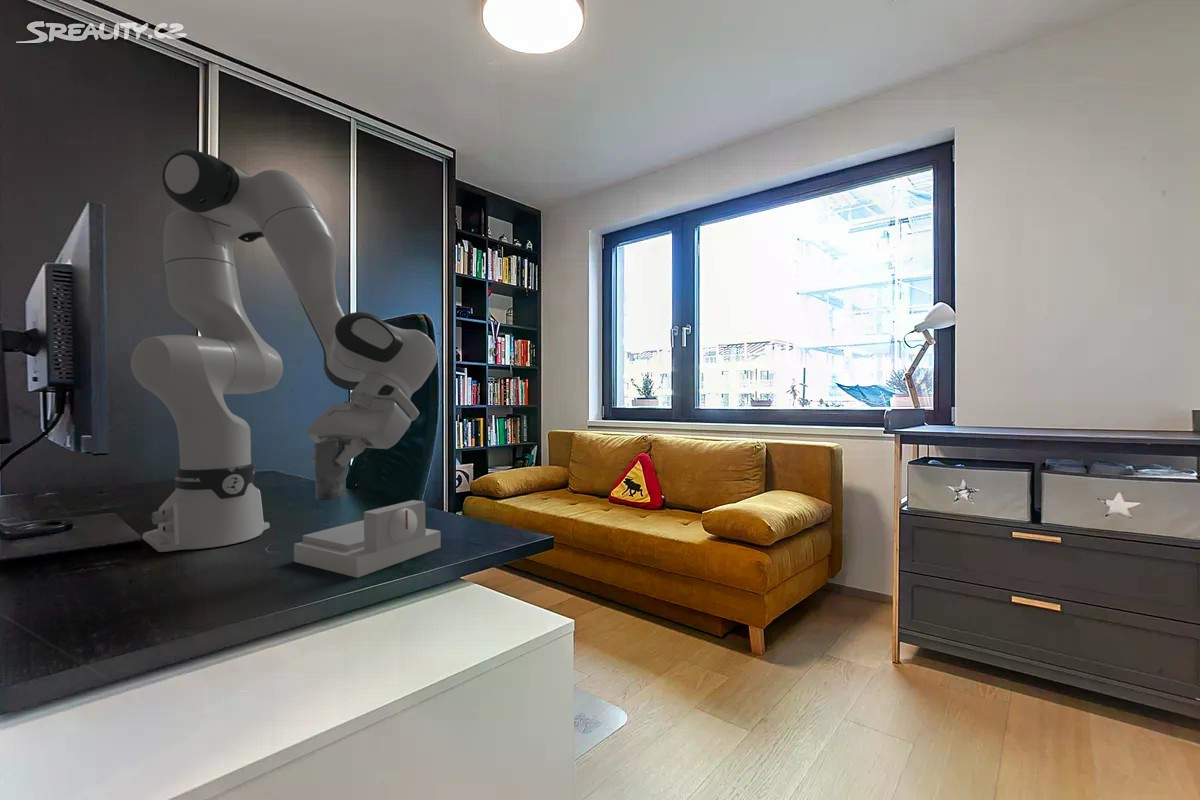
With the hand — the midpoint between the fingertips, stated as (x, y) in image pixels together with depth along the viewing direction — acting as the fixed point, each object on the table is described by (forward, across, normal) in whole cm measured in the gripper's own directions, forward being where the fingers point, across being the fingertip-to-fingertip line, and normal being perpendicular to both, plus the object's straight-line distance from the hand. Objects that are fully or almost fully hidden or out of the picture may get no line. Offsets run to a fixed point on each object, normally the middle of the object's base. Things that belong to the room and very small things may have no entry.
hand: (326, 463), depth 85 cm
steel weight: (+4, 0, +4) cm, 6 cm away
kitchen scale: (+7, +2, +16) cm, 18 cm away
